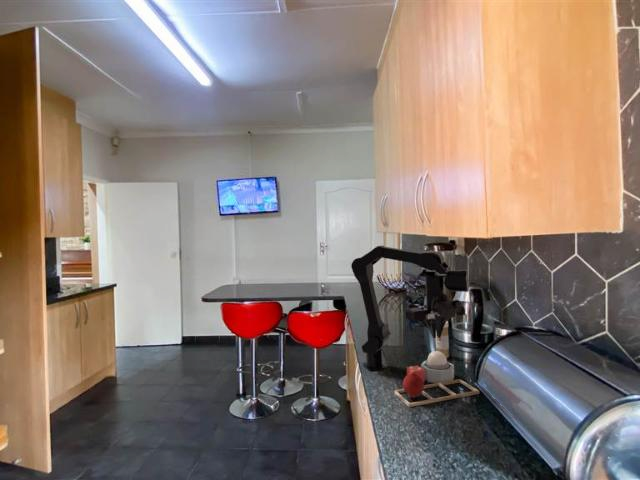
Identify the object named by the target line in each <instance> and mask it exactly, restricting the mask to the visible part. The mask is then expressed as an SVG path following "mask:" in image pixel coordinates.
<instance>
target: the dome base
mask: <svg viewBox="0 0 640 480" xmlns="http://www.w3.org/2000/svg"><path fill="white" fill-rule="evenodd" d="M411 370H412V371H414V372H415V373H416V374H417V375H418V376H419V377H420V378H421V379H422V381H423V384H425V383H426V382H427V383H431V384H435V383H440V382H446V381H452V380H455V379H454V378H455V365H454V364H453V363H450V362H449V369H445V370H435V369H429V368H428V367H426V360H424V361H423V362H422V363H421V364H420V366H419V365H412V366H408V367H407V366H406V376H407V375H408V374H410V371H411Z"/></svg>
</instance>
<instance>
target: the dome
mask: <svg viewBox="0 0 640 480" xmlns="http://www.w3.org/2000/svg"><path fill="white" fill-rule="evenodd" d="M425 361H426V367H428V368H429V369H435V370H445V369H449V363H450V361H448V358H446V357H445V355H444V354H443V353H442V352H439V351H437V350H434V351H431V352H430V353H429V354H428V356H427V359H426V360H425Z"/></svg>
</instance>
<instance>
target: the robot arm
mask: <svg viewBox="0 0 640 480" xmlns="http://www.w3.org/2000/svg"><path fill="white" fill-rule="evenodd" d="M382 259H388V260H393V261H398V262H405V263H409V264H414V265H416V266H418V267H420V268H422V269H423V270H422V271H421V272H420V273H419V274H418V277H421V278H423V277H424V278H425V280H424V281H425V292H423V297H425V304H424V305H423V308H424V309H422V308H419V307H411V308H407V309H406V312H405V317H406V318H408V319H410V320H412V321H424V323H425V324H426V326H427V329H428V330H429V333H430V334H431V337H432V339H435V340H436V333H437V337H438V338H440V337H441V334H442V331H443V328H444V325H445V323H446V322H447V321H448V322H449V320H451V319H452V318H455V317H456V315H457V316H459V317H460V316H465V315H466V307H464V306H463V305H462V304H461V301H460V300H458V299H457V300H449V299H448V295H447V293H445V289H447V290H448V291H449V292H460V293H461V292H463V293H468V292H469V291H470V279H469V274H468V270H467V269H460V270H459V269H457V270H455V269H452V268H451V267H450V266H449V265H448V264H447V263H446V261H445V256H444V255H443V253H442V252H440V251H436V250H435V251H433V250H431V251H430V250H427V251H414V250H408V249H403V248H402V249H401V248H395V247H390V246H385V245H377V246H375V247H374V248H372V249H371V250H370V251H368V252H367V253H365V254H364V255H362V256H361V257H357V258H355V259H353V260H352V262H351V263H350V266H351V271H352V273H353V276H354V277H355V280H356V281H357V282H358V284H359V287H360V291H361V296H362V299H363V300H362V301H363V304H364V309H365V312H366V318H367V323H368V325H367V330H366V331H367V332H366V333H367V340H366V341H365V343H363V345H362V346H361V349H362V352H363V353H364V354H365V360H366V361H365V362H363V363H362V365H363V367H365V368H366V369H367V370H368V371H370V372H372V371H378V370H384V369H385V370H386V369H387V366H386V365H385V364H384V363H383V348H384V347H385V345H386V344H387V343H388V342H389V340H390V336H391V335H392V334H391V332H390V328H389V323H385V322H383V320H382V318H381V314H380V309H379V305H378V303H379V302H378V299H377V296H376V291H375V286H374V283H373V279H374V265H375V264H377V263H378V262H379V261H380V260H382Z"/></svg>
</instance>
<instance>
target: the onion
mask: <svg viewBox="0 0 640 480" xmlns="http://www.w3.org/2000/svg"><path fill="white" fill-rule="evenodd" d="M424 385H425V383H423V381H422V379H421V378H420V377H419V376H418V375H417V374H416V373H415V372H414V371H412V370H411V371H410V374H408V375H407V374H406V375H405V377H404V378H403V381H402V389H404V390H405V392H404V393H406V394H407V395H408V396H410V397H411V398H412V399H415V398H417V397H419V396H420V395H421V394H422V391H424V390H425V389H424Z"/></svg>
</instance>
